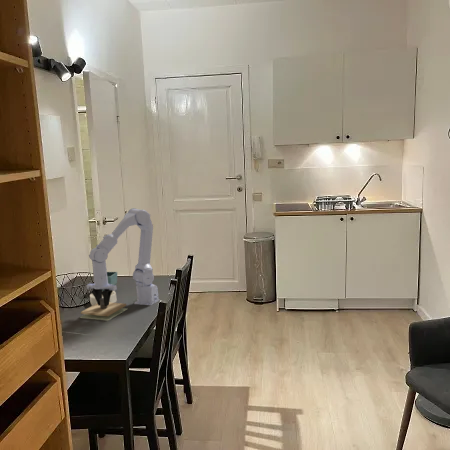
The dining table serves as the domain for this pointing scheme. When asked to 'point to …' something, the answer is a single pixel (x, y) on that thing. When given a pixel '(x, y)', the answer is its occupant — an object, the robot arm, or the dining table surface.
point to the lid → (103, 308)
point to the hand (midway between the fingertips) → (103, 305)
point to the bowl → (93, 300)
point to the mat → (104, 316)
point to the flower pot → (112, 278)
